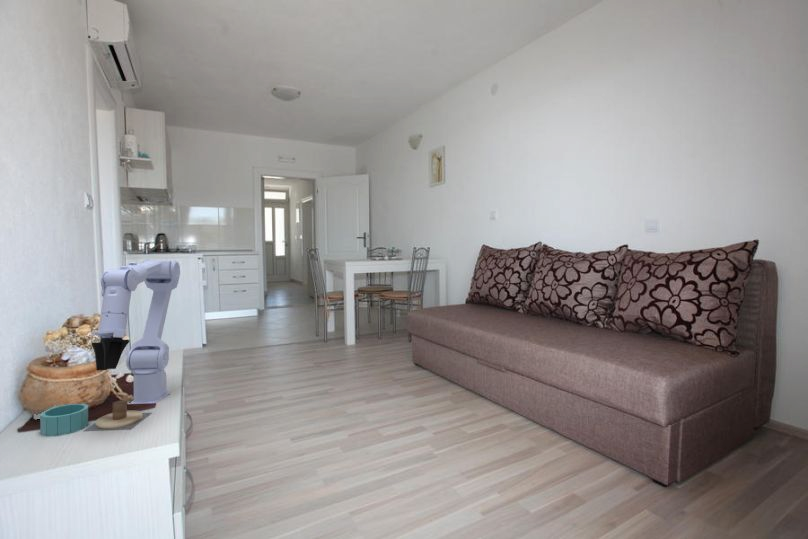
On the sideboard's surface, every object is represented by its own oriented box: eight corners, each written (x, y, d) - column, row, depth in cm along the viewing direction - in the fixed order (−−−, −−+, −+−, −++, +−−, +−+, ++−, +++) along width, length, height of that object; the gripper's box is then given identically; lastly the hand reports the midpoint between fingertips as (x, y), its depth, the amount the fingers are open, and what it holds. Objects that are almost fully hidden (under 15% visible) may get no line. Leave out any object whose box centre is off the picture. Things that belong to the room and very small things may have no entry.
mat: (109, 415, 109) (109, 413, 109) (152, 414, 110) (152, 412, 110) (82, 433, 98) (82, 431, 98) (131, 431, 99) (131, 429, 99)
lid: (110, 414, 108) (110, 396, 108) (149, 413, 110) (149, 395, 110) (86, 430, 98) (86, 410, 98) (130, 428, 100) (130, 408, 100)
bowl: (58, 423, 103) (58, 404, 103) (96, 421, 105) (96, 403, 105) (30, 438, 95) (30, 417, 94) (72, 436, 96) (72, 416, 96)
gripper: (88, 317, 103) (79, 370, 100) (102, 309, 94) (93, 368, 91) (120, 319, 109) (112, 370, 105) (137, 312, 99) (129, 368, 96)
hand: (105, 369), depth 98 cm, fingers open, 7 cm apart
